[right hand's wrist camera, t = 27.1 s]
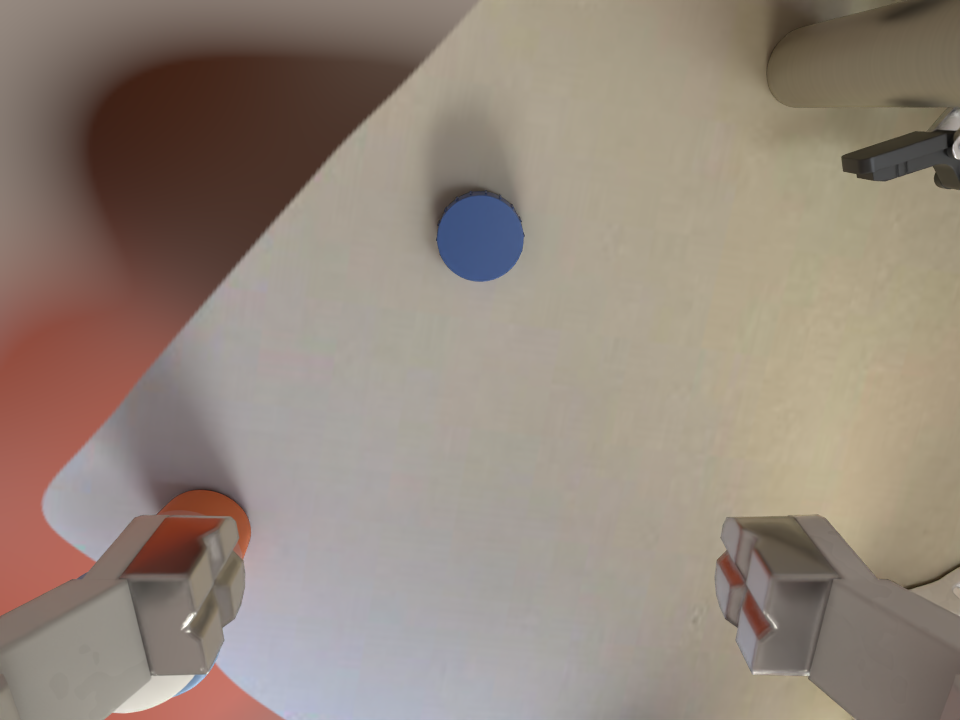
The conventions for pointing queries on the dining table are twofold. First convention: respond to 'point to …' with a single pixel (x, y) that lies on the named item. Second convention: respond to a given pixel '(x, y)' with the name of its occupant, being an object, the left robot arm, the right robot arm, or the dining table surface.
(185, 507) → the cup with straw
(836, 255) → the dining table surface
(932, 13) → the silver metal cylinder
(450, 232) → the lid
